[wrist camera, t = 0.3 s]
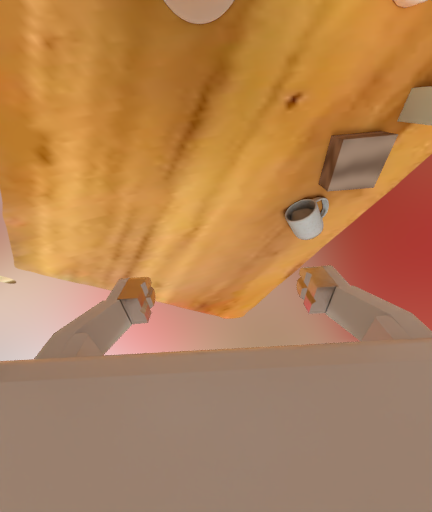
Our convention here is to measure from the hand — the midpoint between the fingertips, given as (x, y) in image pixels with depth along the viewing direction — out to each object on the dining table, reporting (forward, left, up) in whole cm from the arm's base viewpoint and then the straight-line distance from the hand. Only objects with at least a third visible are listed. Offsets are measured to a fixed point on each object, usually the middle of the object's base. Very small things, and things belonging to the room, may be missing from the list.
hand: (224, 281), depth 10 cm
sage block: (-4, +39, -39) cm, 55 cm away
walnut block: (+5, +29, -39) cm, 49 cm away
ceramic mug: (+17, +22, -39) cm, 48 cm away
